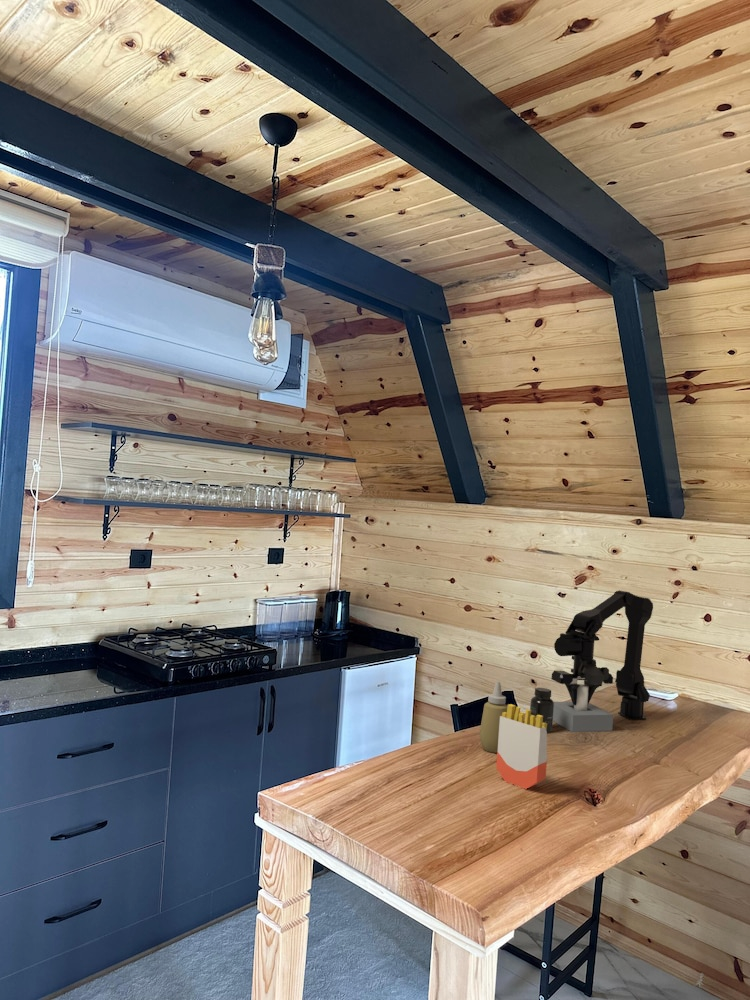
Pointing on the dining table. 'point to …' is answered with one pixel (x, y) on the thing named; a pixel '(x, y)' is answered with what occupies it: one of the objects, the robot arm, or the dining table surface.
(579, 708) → the peg
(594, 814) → the dining table surface
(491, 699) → the squeeze bottle
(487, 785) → the dining table surface
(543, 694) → the supplement bottle
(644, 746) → the dining table surface
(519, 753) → the french fries container
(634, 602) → the robot arm
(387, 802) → the dining table surface
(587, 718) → the socket block
